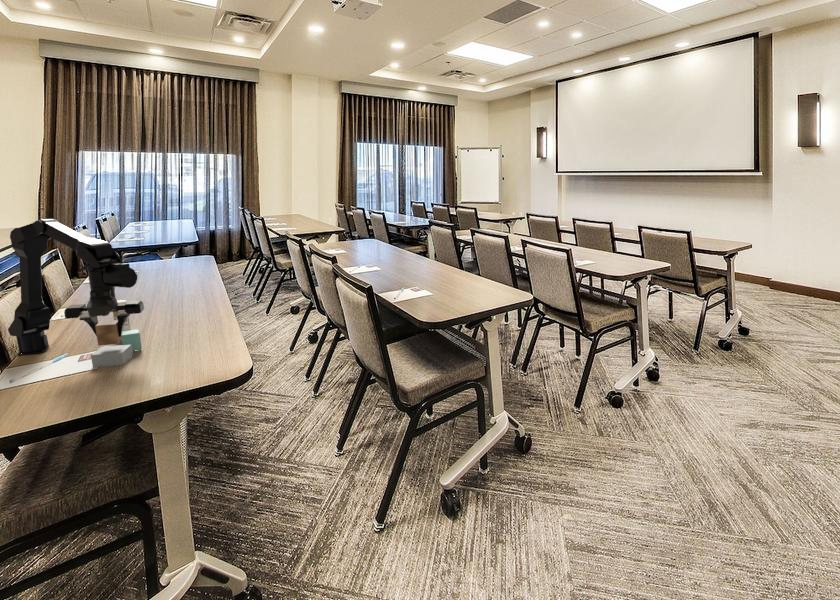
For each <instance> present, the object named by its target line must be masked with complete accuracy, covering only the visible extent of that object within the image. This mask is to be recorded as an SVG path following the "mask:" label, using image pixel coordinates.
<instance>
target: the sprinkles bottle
mask: <svg viewBox="0 0 840 600" xmlns="http://www.w3.org/2000/svg"><path fill="white" fill-rule="evenodd" d="M116 300H117V303H118V305H125V304H126V303H127V302H128V301H127V300H126V299H116ZM112 314H113V317H112V318H113V320H118V319H117V315H118V314H119V312H118V311H116V312H112ZM130 325H131V324H130V316H128V317H127V318H126V321H125V324H124V328H123V331H128V330H131V326H130Z"/></svg>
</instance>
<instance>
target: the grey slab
mask: <svg viewBox="0 0 840 600" xmlns="http://www.w3.org/2000/svg"><path fill="white" fill-rule="evenodd" d="M132 355H133V356H134V352H133V351H132V344H131V345H122V344H121V345H120V344H119V345H118V344H115V345H101V346H100V348H98V349H97V350H96V351H94V352H93V353H92V354H91V355H90V358H91V363H92V368H100V366H101V367H102V366H103V367H114V365H116V366H124V365H126V364H127V362H129V361H130V359H131V358H130V357H131V356H132ZM129 358H130V359H129Z"/></svg>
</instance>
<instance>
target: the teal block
mask: <svg viewBox="0 0 840 600" xmlns="http://www.w3.org/2000/svg"><path fill="white" fill-rule="evenodd" d="M120 343H121V345H131V344H132V351H135V350H141V349H142V350H143V347H142V341H141V333H140V331H139V328H135V329H130V330H128V331H123V332H122V340H121V341H120Z"/></svg>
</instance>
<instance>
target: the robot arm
mask: <svg viewBox="0 0 840 600" xmlns="http://www.w3.org/2000/svg"><path fill="white" fill-rule="evenodd" d="M9 234H10V235H9V239H10V241H11V242H10V243H11V248H12V249H13V250H14V251H15V252H16V254H17V255H18V256H19V257H18V258H19V279H20V283H19V284H20V303H19V304H18V305H17V306H16V308H15V310H14V316H13V320H12V322H11V324H10V325H9V327H8V328H7V331H8V333H9V335H10V336H11V337H16V341H17V346H18V347H17V348H18V352H17V353H16V355H17V356H21V355H20V354H21V353H22V354H24V355H34V354H42V353H45V351H46V350H48V349H49V348H50V345H49V341H48V335H47V334H46V333H45V331H48V330H49V329H50V323H51V320H52V317H51V313H52V312H51V311H52V309H51V308H50V307H48V306H47V305H46V304H45V303H44V302H43V290H42V289H43V282H42V279H43V278H42V257H43V255H44V253H45V251H46V250H47V249H48V243H49V240H51V239H52V240H54V241H56V242H58V243H60V244H62V245H64V246H66V247H68V248H69V249H71V250H73V251H75V255H76V257H78V259H81V260H82V261H83V262H84V263H85V264H84V265H82V267H81V270H82V271H87V276H88V281H89V288H90V290H89V300H88V302H87V304H85V303H83V304H81V303H80V304H71V305H69V306H67V307H66V308H65V309H64V311H63V313H64V319H67V320H68V319H79V321H83V322H85V323H87V324H88V326H89V327H90V328H91V330H92V332H93V333H94V335H95V336H96V337H97V334H96V328H95V325H97V324H98V323H99V319H98V317H107V316H109V315H110V313H113V312H116V311H118V312H119V314H118V315H117V319H118V334H119V337H121V335H122V332H123V328H124V324H125V321H126V318H127V317H128V316H129V317H130V316H131V315H132V314H133V315H134V314H136V315H137V314H141V313H142V312H143V311H144V310H145V305H144V302H143V301H142V300H130V301H129V300H128V301H127V303H126V304H125V305H118V303H117V300H118V299H117V298H116V297H117V296H116V291H115V290H116V288H126V289H130V288H133V287H134V286H135V285H136V284H137V281H138V274H137V273H136V270H135V269H133V268H131V267H130V264H129V263H124V262H123V260H122V258H121V257H120V256H119V255H118V253H117V252H116V250H115V249H114V248H113V246H112V244H111V243H110V242H109V241H106V240H103V239H99V238H92V237H88V236H85V235H83V234H82V233H80V232H77V231H76V230H74V229H72V228H70V227H68V226H66V225H64V224H62V223H60V222H59V221H58V220H57V219H54V218H45V219H41V218H40V219H38V220H35V221H33V222H31V223H29V224H26V225H23V226H20V227H15V228H13V229H12V230H11V231H10V232H9ZM48 347H49V348H48Z"/></svg>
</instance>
